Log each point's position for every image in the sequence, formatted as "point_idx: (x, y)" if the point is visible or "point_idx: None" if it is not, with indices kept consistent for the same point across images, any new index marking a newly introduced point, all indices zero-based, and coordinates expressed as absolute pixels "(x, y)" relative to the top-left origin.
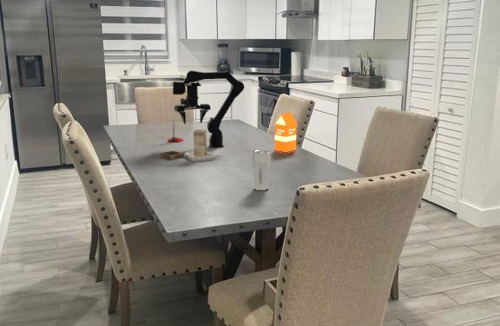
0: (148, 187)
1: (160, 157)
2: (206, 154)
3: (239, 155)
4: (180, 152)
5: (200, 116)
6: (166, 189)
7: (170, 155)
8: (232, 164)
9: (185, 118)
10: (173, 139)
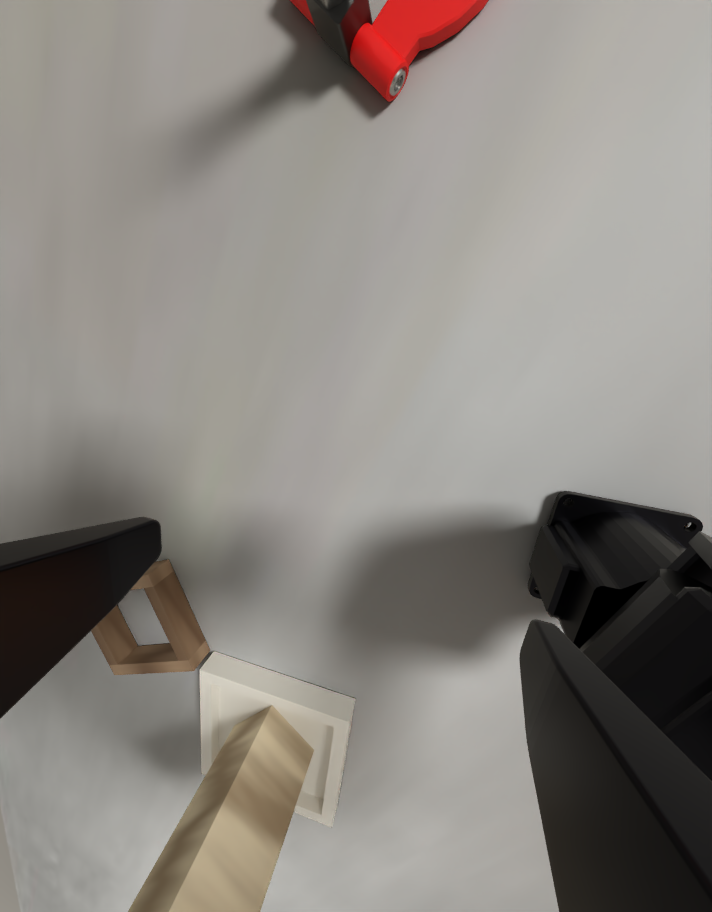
0: (16, 829)
1: None
2: (306, 762)
3: (524, 844)
4: (179, 645)
5: (629, 837)
6: (55, 870)
7: (111, 662)
8: (356, 894)
9: (16, 698)
10: (327, 29)
